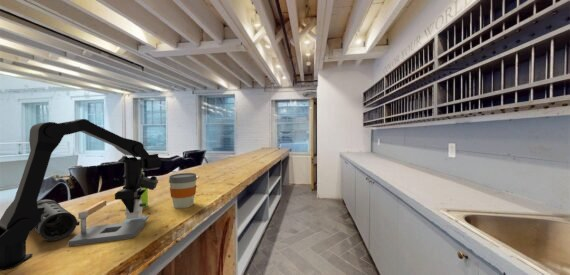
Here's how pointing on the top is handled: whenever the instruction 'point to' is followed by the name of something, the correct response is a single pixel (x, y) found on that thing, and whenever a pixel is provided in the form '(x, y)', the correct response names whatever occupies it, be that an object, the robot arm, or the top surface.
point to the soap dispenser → (145, 196)
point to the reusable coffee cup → (183, 189)
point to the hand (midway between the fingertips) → (134, 210)
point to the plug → (135, 210)
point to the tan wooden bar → (91, 209)
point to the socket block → (100, 235)
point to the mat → (136, 219)
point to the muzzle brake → (55, 221)
